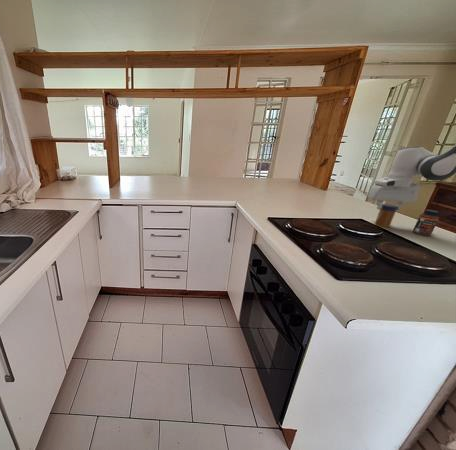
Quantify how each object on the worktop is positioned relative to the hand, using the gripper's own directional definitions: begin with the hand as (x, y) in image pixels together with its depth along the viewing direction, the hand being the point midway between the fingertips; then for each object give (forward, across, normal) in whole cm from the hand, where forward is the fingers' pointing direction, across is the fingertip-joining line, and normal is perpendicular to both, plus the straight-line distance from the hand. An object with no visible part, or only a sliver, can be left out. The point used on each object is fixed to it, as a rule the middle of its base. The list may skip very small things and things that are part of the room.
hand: (387, 209), depth 117 cm
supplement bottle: (+8, -10, +10) cm, 16 cm away
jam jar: (+8, 0, 0) cm, 8 cm away
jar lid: (-2, 0, 0) cm, 2 cm away
